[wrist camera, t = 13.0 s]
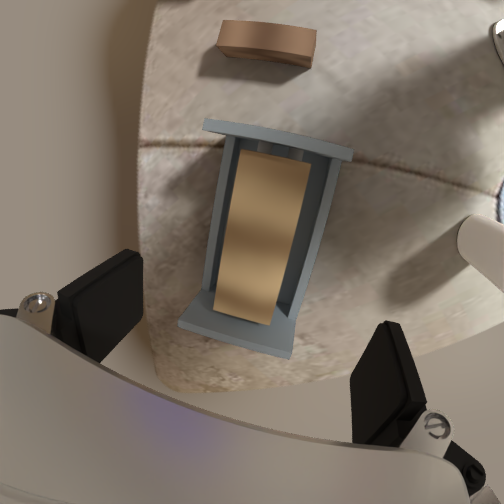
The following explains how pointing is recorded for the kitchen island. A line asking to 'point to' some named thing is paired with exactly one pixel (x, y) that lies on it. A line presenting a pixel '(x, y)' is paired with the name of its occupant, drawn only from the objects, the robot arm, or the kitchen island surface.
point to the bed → (303, 246)
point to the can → (483, 247)
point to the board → (259, 234)
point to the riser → (267, 42)
